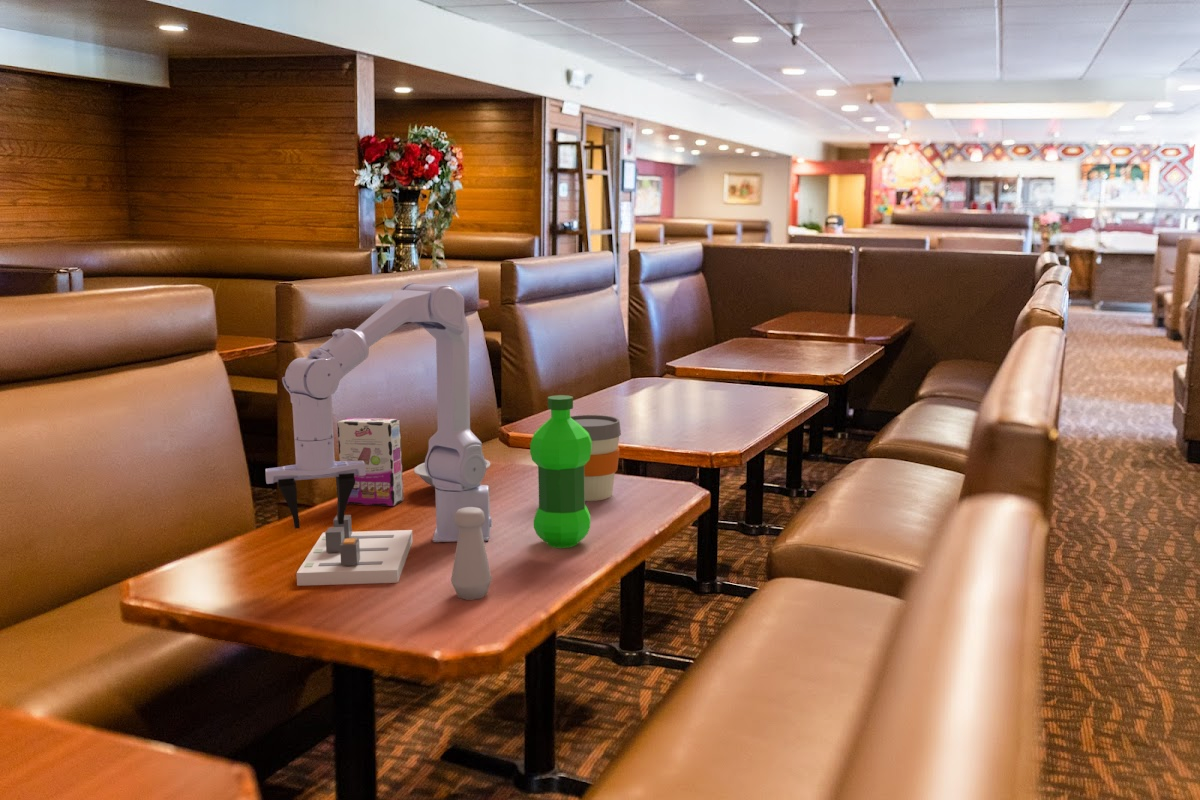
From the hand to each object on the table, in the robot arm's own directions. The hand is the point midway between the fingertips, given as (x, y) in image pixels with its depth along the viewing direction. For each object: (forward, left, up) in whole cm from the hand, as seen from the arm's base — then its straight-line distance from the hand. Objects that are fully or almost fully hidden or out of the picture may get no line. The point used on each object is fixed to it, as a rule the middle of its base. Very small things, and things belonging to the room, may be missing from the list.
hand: (318, 524), depth 164 cm
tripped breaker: (-4, 0, -6) cm, 8 cm away
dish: (-16, -52, -9) cm, 55 cm away
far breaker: (-1, -14, -6) cm, 15 cm away
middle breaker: (-1, -7, -6) cm, 9 cm away
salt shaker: (-23, +10, -9) cm, 27 cm away
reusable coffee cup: (-44, -45, -9) cm, 64 cm away
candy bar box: (-1, -44, -9) cm, 45 cm away
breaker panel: (-4, -7, -8) cm, 12 cm away
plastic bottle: (-37, -14, -9) cm, 41 cm away
